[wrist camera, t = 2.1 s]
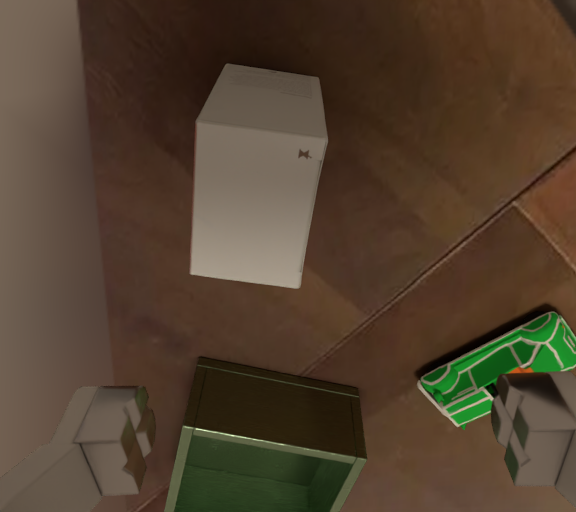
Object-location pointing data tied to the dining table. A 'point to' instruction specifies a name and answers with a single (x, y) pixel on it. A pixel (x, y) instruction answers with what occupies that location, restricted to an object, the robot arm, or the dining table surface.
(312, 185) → the small box
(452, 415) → the toy car
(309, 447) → the open box
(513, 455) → the robot arm
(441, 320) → the dining table surface
